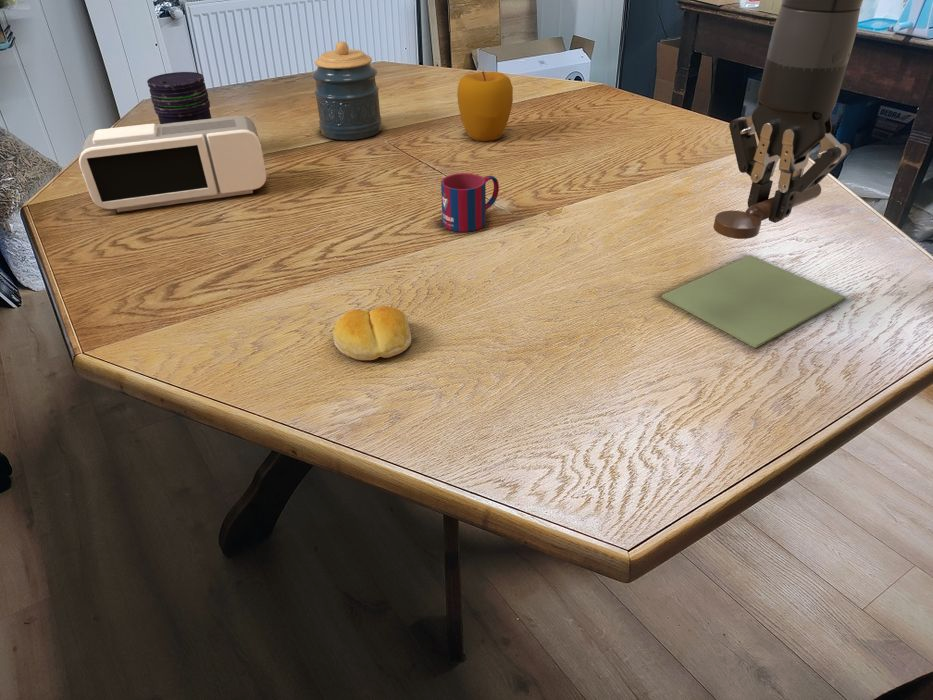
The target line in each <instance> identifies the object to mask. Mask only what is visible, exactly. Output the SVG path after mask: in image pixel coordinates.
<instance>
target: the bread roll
mask: <svg viewBox="0 0 933 700" xmlns="http://www.w3.org/2000/svg"><path fill="white" fill-rule="evenodd" d="M332 337H333V341H334V342H333V343H334V345H335V347H336V348H337V349H338V350H339V352H341V353H342V354H343V355H345V356H347V357H349V358H352V359H354V360H358V361H373V360H376V359H379V358H380V357H381V358H384V359H385V358H387V359H388V358H392V357H394V356H397V355H399V354H401V353H403V352H404V351H406V350H407V349H408V348H409V347H410V345H411V344H412V334H411V329H410V325H409V317H408V315H407V314H406V313H404V311H402V310H401V309H399V308H396V307H393V306H389V305H380V306H377V307H376V308H374V309H372V310H370V311H368V310H363V309H352V310H349V311H347V312H346V313H344V314H343V315H341V317H340V318H339V319H338V320H337V322H336V323H335V325H334V328H333V332H332Z"/></svg>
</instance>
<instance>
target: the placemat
mask: <svg viewBox="0 0 933 700" xmlns="http://www.w3.org/2000/svg"><path fill="white" fill-rule="evenodd" d="M661 299H663V300H665V301H667V302H668V303H670V304H672V305H674V306H676V307H678V308H680V309H682V310H684V311H685V312H687V313H688V314H691V315H693V316H695V317H697V318H698V319H700V320H702V321H704V322H705V323H708V324H710V325H711V326H713V327H715V328H717V329H718V330H720V331H722V332H724V333H726V334H728V335H730V336H732V337H733V338H734V339H735V338H736V339H738V341H741V342H743V343H745V344H747V345H748V346H750V347H752V348H754V349H758V348H759V347H761V346H763V345H764V344H766V343H769V342H770V341H772V340H773V339H775V338H777V337H779V336H781V335H782V334H784V333H786V332H788V331H789V330H791V329H792V330H793V328H795V327H797V326H799V325H801V324H803V323H804V322H806V321H808V320H810V319H812V318H813V317H815V316H817V315H818V314H820V313H822V312H824V311H826V310H828V309H829V308H831V307H833V306H835V305H836V304H838V303H840V302H842V301H843V300H844V301H845V299H846V296H845V295H843V294H840V293H838V292H836V291H834V290H831V289H828V288H826V287H824V286H821V285H820V284H818V283H815V282H813V281H810V280H808V279H806V278H803V277H801V276H799V275H796V274H794V273H792V272H789V271H788V270H785V269H783V268H781V267H778V266H776V265H773V264H771V263H769V262H766V261H764V260H762V259H760V258H757V257H755V256H753V255H752V254H751V255H748V256H745V257H742V258H741V259H739V260H737V261H734V262H732V263H730V264H727V265H725V266H724V267H721V268H719V269H717V270H714V271H712V272H710V273H708V274H706V275H703V276H701V277H699V278H697V279H694V280H693V281H690V282H688V283H686V284H683V285H680V286H678V287H676V288H675V289H672V290H670V291H668V292H666V293H663V294H661Z"/></svg>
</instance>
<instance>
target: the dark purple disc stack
mask: <svg viewBox="0 0 933 700" xmlns="http://www.w3.org/2000/svg"><path fill="white" fill-rule="evenodd" d="M146 83H147V86H148V88H149V93H150V99H151V103H152V104H153V110H154V113H155V114H156V115H157V117H158V121H159V124H168V123H177V122H186V121H194V120H203V119H212V113H211V110H210V107H211V102H210V100H209V93H208V90H207V87H206V83H205V77H204V75H203V74H202V73H200V72H195V71H175V72H168V73H162V74H158V75H154V76H152V77H150V78H148V79H147V81H146Z"/></svg>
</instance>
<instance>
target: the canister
mask: <svg viewBox="0 0 933 700" xmlns="http://www.w3.org/2000/svg"><path fill="white" fill-rule="evenodd" d="M372 61H373V59H372V57H371V56H370V55H368V54H366V53H365V52H364V51H363V50H360V49H351V48H349V44H348V43H347V42H345V41H343V40H341V41H337V42H336V43H335V47H334V50H329V51H326V52H323V53H321V55H320V56H319V57H318V58H316V59H315V60H314V64H315V66H316V69H315V70H314V71H313V72H312V75H311V77H312V78H313V79H314V80H315V86H316V87H315V90H314V95H315V97H316V105H317V112H318V118H319V119H318V124H319V129H320V132H321V134H322V135H323V136H324V137H326V138H328V139H332V140H338V141H339V140H340V141H353V140H355V141H356V140H361V139H367V138H370V137H373V136H376V135H377V134H379V133H380V132H381V130H382V124H383V121H382V116H381V110H380V109H381V107H380V99H379V96H380V95H379V86H378V85H377V82H376V76H377V73H378V70H377V68H375V67H374V66H373V65H371V62H372Z"/></svg>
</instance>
